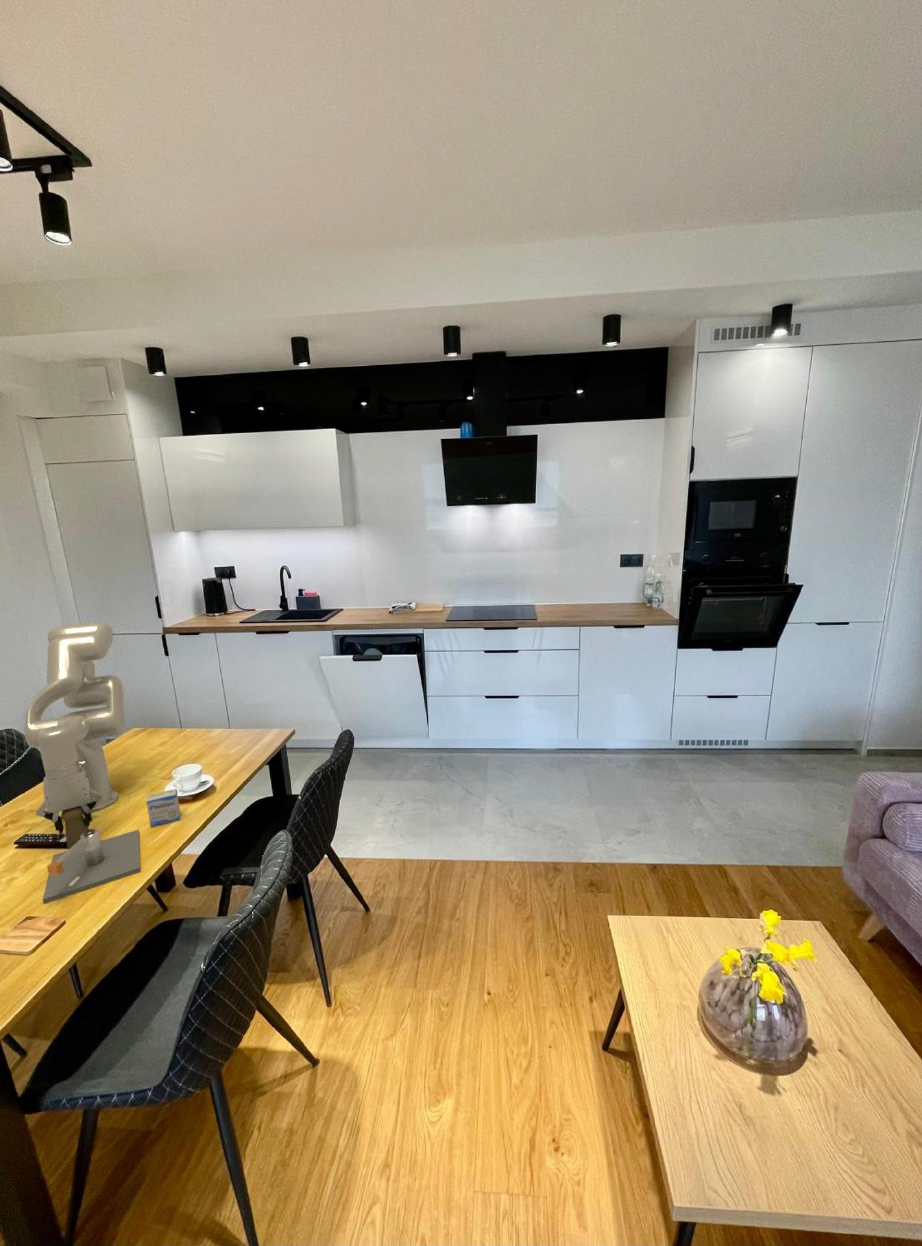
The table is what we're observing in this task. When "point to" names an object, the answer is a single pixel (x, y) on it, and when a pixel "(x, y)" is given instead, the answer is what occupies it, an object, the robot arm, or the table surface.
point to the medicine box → (163, 808)
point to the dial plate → (96, 867)
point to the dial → (88, 844)
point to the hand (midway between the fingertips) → (75, 827)
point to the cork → (74, 824)
